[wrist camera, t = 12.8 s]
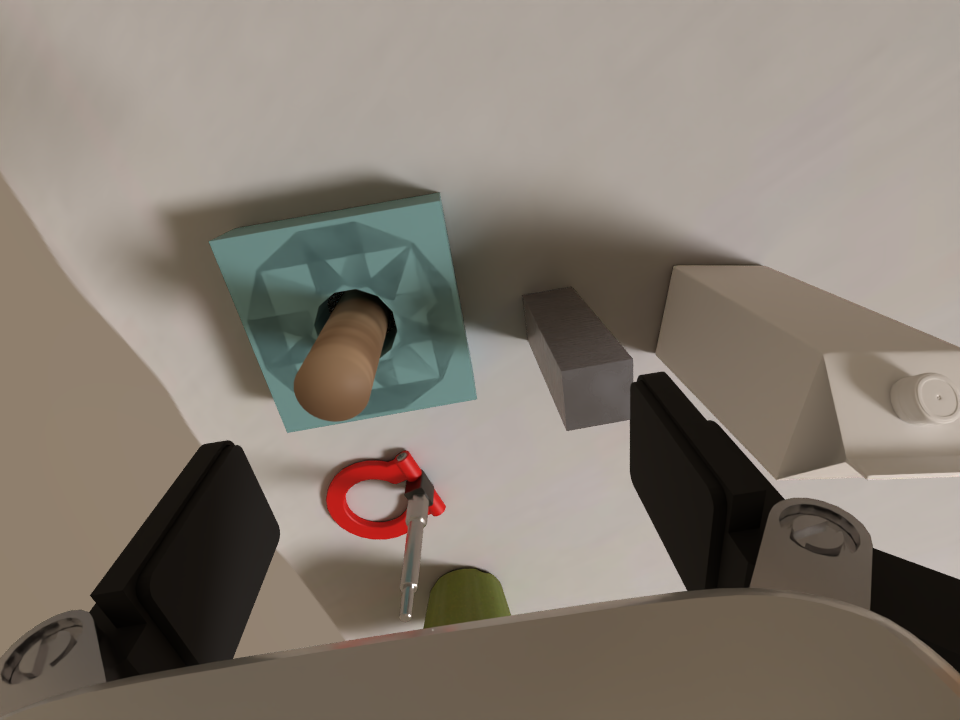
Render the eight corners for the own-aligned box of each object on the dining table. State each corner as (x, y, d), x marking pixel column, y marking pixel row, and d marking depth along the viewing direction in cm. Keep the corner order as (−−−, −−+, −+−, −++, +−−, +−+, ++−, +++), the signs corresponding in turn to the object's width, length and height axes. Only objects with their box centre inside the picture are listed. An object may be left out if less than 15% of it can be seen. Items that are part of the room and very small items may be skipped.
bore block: (235, 228, 31) (208, 241, 27) (439, 192, 31) (439, 200, 27) (302, 403, 37) (287, 432, 33) (473, 372, 37) (476, 399, 33)
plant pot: (381, 594, 47) (365, 723, 36) (471, 530, 44) (480, 650, 34) (461, 646, 51) (467, 773, 41) (548, 590, 48) (577, 712, 38)
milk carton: (739, 352, 38) (987, 536, 21) (653, 353, 37) (835, 543, 20) (765, 264, 35) (1080, 395, 18) (671, 264, 34) (904, 399, 17)
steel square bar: (522, 295, 34) (561, 371, 23) (571, 286, 34) (632, 358, 23) (527, 340, 36) (566, 431, 25) (574, 332, 36) (633, 419, 25)
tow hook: (362, 541, 44) (451, 507, 42) (327, 691, 33) (447, 651, 31) (310, 478, 40) (405, 438, 39) (249, 621, 29) (381, 572, 27)
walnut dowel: (333, 287, 33) (282, 363, 22) (385, 278, 33) (359, 350, 22) (348, 334, 34) (307, 427, 24) (396, 325, 34) (378, 414, 24)
